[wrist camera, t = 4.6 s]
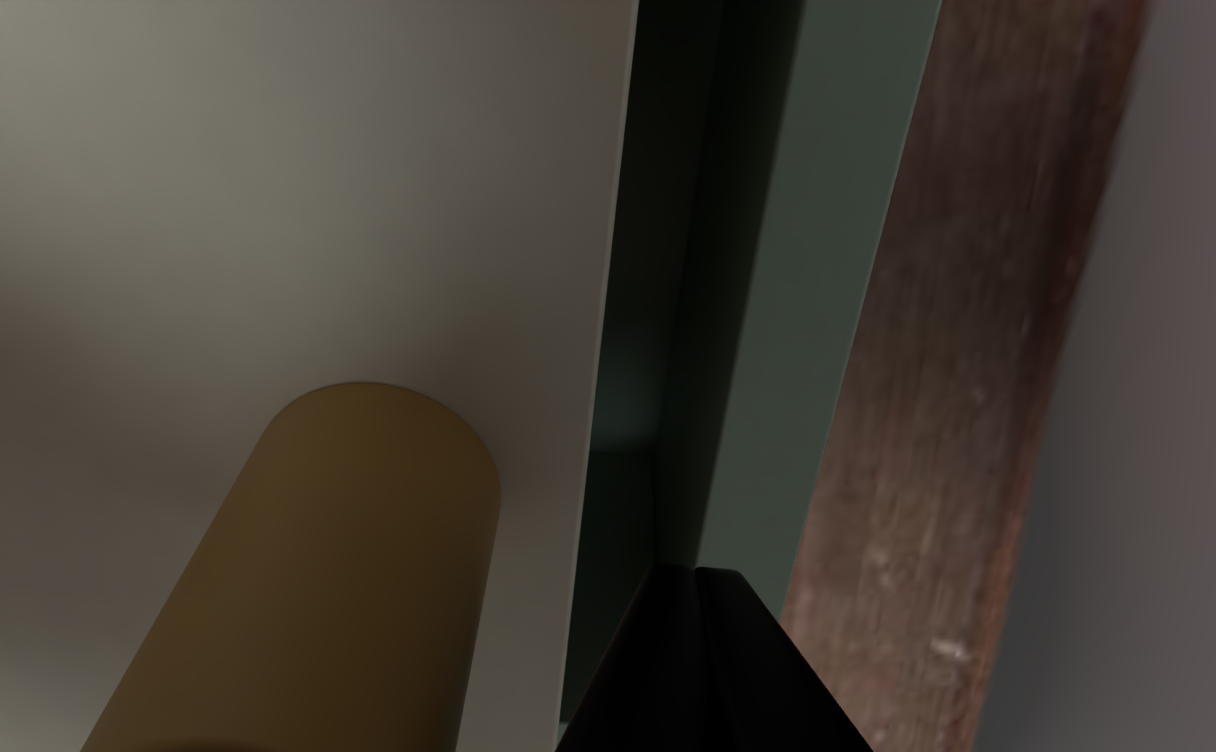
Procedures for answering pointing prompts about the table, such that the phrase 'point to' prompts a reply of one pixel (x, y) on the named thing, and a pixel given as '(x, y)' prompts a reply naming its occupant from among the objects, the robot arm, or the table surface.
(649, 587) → the robot arm
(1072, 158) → the table surface
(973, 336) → the table surface
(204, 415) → the slide door
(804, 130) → the storage box
